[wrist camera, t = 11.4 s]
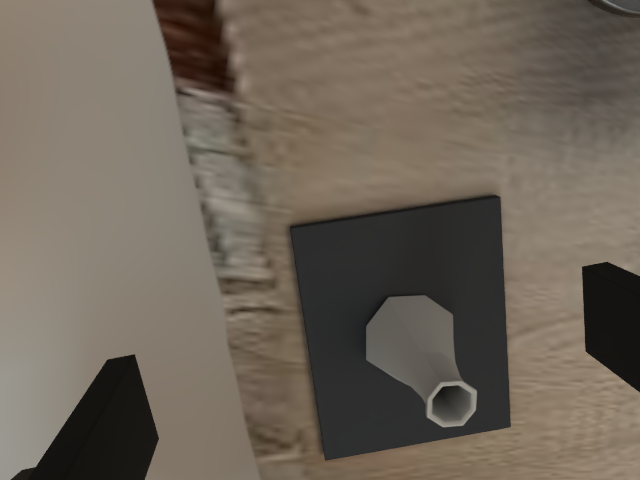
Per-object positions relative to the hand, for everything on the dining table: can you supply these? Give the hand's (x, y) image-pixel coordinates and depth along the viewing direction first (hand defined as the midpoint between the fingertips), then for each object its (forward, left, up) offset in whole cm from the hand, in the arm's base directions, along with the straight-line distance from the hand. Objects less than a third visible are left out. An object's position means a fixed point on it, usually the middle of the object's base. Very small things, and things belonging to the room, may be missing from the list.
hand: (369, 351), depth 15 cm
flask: (-6, +11, -24) cm, 27 cm away
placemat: (-6, +11, -24) cm, 27 cm away
